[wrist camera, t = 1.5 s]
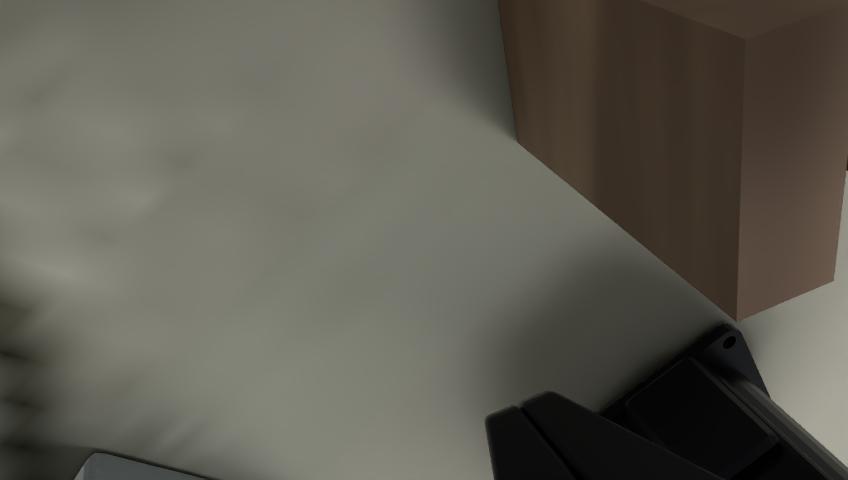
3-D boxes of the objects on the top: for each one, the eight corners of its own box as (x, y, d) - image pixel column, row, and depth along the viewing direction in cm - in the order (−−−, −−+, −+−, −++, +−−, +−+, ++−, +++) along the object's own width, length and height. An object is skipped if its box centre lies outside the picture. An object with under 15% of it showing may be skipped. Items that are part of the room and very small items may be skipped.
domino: (568, -79, 18) (865, -3, 11) (586, 119, 21) (833, 280, 14) (489, -55, 18) (745, 38, 11) (518, 142, 20) (736, 321, 13)
